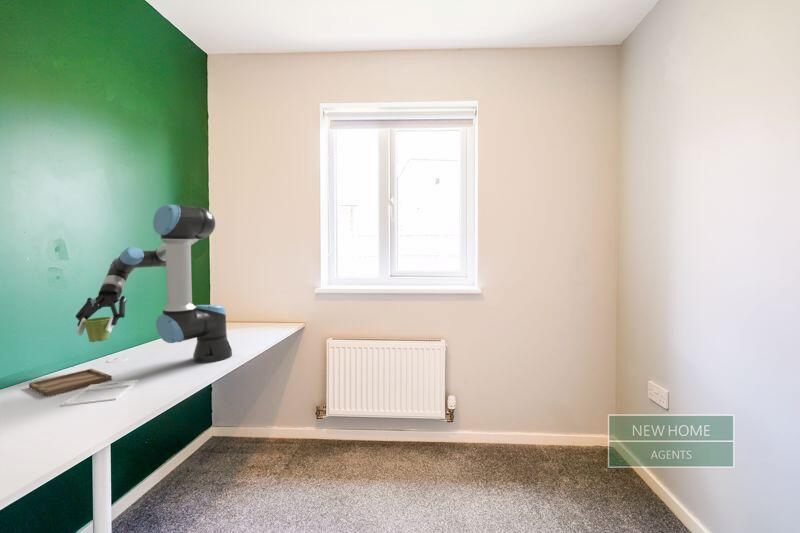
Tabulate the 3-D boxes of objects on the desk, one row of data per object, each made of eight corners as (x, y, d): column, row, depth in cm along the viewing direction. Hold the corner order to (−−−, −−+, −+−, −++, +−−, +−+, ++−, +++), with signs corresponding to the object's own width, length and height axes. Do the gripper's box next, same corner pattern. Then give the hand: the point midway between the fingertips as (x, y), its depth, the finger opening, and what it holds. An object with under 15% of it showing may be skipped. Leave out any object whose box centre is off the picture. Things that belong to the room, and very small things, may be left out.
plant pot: (78, 342, 150) (76, 321, 149) (103, 336, 158) (101, 316, 158) (94, 344, 147) (92, 322, 146) (119, 338, 156) (117, 317, 155)
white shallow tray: (138, 379, 137) (116, 397, 120) (138, 382, 137) (116, 401, 120) (90, 384, 133) (60, 404, 116) (91, 387, 133) (60, 407, 116)
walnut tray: (111, 380, 139) (111, 375, 139) (47, 397, 124) (46, 392, 124) (91, 372, 148) (91, 368, 148) (29, 387, 133) (28, 383, 133)
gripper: (143, 292, 169) (128, 335, 154) (87, 295, 164) (66, 339, 150) (137, 281, 163) (120, 325, 149) (78, 284, 159) (56, 329, 144)
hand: (93, 332), depth 149 cm, fingers closed on plant pot, 9 cm apart
